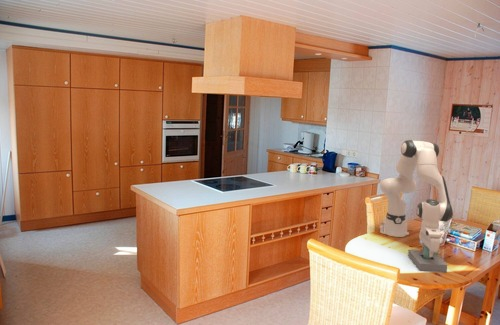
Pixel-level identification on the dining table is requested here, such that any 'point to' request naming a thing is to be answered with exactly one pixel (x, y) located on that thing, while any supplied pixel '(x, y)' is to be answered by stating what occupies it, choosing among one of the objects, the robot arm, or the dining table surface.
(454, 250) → the dining table surface
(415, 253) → the hole block
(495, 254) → the dining table surface
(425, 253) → the peg
